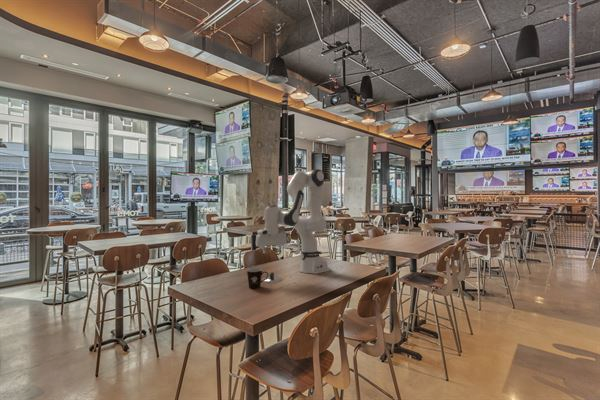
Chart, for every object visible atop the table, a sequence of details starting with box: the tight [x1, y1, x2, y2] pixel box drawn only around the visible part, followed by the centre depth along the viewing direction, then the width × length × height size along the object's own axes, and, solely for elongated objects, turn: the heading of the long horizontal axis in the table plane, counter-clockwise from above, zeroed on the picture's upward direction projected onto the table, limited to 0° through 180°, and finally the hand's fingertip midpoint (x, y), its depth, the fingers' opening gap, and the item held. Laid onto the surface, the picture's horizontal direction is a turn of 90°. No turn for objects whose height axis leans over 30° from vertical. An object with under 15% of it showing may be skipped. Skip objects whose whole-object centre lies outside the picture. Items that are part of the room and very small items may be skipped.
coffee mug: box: [246, 267, 269, 290], centre depth 174 cm, size 12×9×10 cm
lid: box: [261, 271, 282, 284], centre depth 189 cm, size 12×12×5 cm
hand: (271, 252), depth 189 cm, fingers open, 8 cm apart
